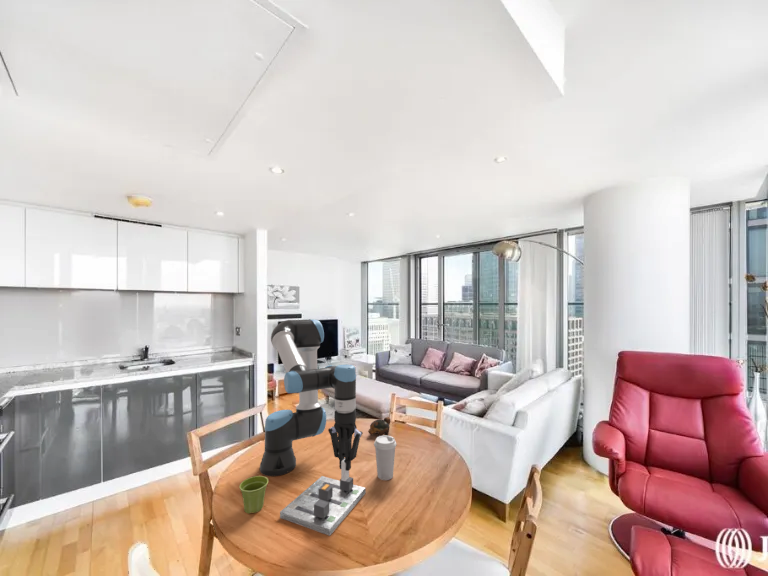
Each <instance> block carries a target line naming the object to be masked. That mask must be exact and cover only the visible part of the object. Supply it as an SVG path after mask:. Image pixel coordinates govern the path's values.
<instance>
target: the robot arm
mask: <svg viewBox="0 0 768 576" xmlns="http://www.w3.org/2000/svg"><path fill="white" fill-rule="evenodd" d="M324 339H325V332H324V327H323V324H322V323H321V321H320V320H318V319H311V318H310V319H308V318H307V319H288V320H284V321H282V322H280V323H278V324H277V325H276V326H275V327H274V328H273V330H272V332H271V335H270V341H271V345H272V346H273V348H274V349H275V350H277V352H278V355H279V358H280V360H281V362H282V364H283V367H284V369H285V370H284V371H285V372H286V373H285V374H284V376H283V384H284V390H285V392H286V393H287V394H298V395H299V396H298V397H299V399H298V401H299V403H298V404H297V406H296V407H295V410H296V411H295V412H293V410H292V409H280V410H277V411H273V412H272V413H270V414H269V415H268V416H266V418H265V421H264V450H263V451H264V452H263V454H262V457H261V462H260V465H259V472H260V474H261V475H262V476H263V475H264V476H265V477H266V476H267V477H278V476H279V477H280V476H283V475H285V474H288V473H290V472H292V471H293V470H294V469H295V468H296V466H297V458H296V456H295V451H294V449H293V441H297V440H302V439H306V438H310V437H312V438H313V437H315V436H318V435H321V434H323V433H324V431H325V429H326V427H327V426H326V425H327V413H326V409H325V408H324V407H322V404H321V403H320V402H319V390H325V389H331V388H332V389H333V390H334V413H333V414H334V420H333V421H334V423H333V426H331V427H329V428H327V429H328V430H327V431H328V434H329V435H330V440H331V444H332V446H331V447H332V450H333V455H334V457H335V458H337V459H338V461H339V463H338V464H339V469H340V470H341V471H340V472H341V473H340V475H341V478H340V479H341V480H342V481H346V480H347V479H348V478H349V477H350V470H351V469H352V461H353V460H355V459H356V458H357V453H358V449H359V444H360V440H361V437H362V436H363V434H364V433H363V430H362V431H360V430H358V427H357V424H356V422H357V421H356V419H357V411H356V408H357V405H356V404H357V399H356V397H357V395H356V394H357V392H356V391H357V390H356V389H357V382H356V381H357V373H356V367H355V366H354V365H353V364H338V365H326V366H325V367H322V368H318V349H319V348H320V347H321V343H323V342H324ZM352 439H353V440H352Z"/></svg>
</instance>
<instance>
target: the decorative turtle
mask: <svg viewBox="0 0 768 576" xmlns="http://www.w3.org/2000/svg"><path fill="white" fill-rule="evenodd" d="M390 425H391V418H390V417H388V416H387V417H384V419H382V418H379V419H375V420H374V421H372V422H371V423H370V425H369V429H368V431H367V432H368V434H369V435H371V436H372V435H375V434H378V436H384V434H385V435H388V434H389V432H390Z"/></svg>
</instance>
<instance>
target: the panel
mask: <svg viewBox="0 0 768 576" xmlns="http://www.w3.org/2000/svg"><path fill="white" fill-rule="evenodd" d="M323 484H325V485H326V484H328V485H330V486H332V487H333V497H332V498H331V499H330V500H329V501H326V502H329V514H328V515H327V516H326V517H325V518H324V519H323V518H320V517H317V516H314V504H315V503H316V502H317V501H318V500H319V499H318V488H320V487H321V486H322V485H323ZM366 489H367V488H366V487H364V486H360V485H357V484H353V488H352V489H351V490H350V491H349V492H348V491H345V490H341V489H340V479H339V480H338V479H334V478H331V477H327V476H323V475H321V476H320V477H319V478H318V479H317V480H316V481H315V482H313V483H312V484H311V485H309V487H307V488H306V489H305V490H304V491H302V492H301V494H299V495H298V496H297V497H295V498H294V500H292V501H291V502H290V503H288V504H287V505H286V506H285V507H284V508H282V509H281V510H280V511H279V518H280V519H282V520H284V521H288V522H290V523H293V524H296V525H299V526H301V527H304V528H307V529H309V530H311V531H315V532H318V533H321V534H323V535H327V536H328V537H329V536H332V534H333V533H334V532H335V530H336V529H337V528H338V527H339V526H340V525H341V523H342V522H343V521H344V520H345V519H346V518H347V516H348V515H349V514H350V513H351V511H352V510H353V509H354V508H355V507H356V505H357V504H358V503H359V502H360V501H361V499H362V498H363V497H364V496H365V495H366V493H367V492H366ZM320 500H321V499H320ZM323 501H325V500H323Z"/></svg>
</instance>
